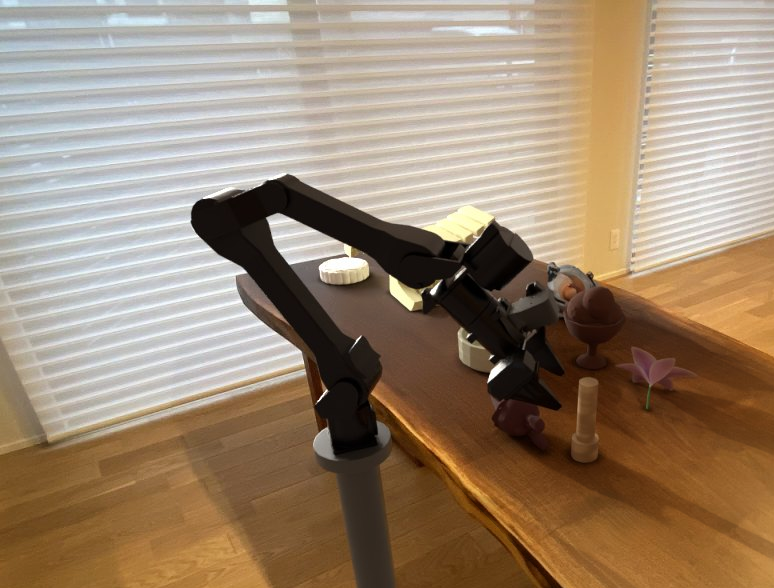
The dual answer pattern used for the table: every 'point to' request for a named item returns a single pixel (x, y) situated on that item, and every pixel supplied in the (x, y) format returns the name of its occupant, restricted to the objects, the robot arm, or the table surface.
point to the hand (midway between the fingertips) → (561, 390)
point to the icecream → (520, 420)
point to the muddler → (586, 422)
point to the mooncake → (344, 270)
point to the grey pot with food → (567, 283)
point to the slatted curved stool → (449, 229)
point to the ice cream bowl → (593, 322)
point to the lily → (654, 370)
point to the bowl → (474, 354)
